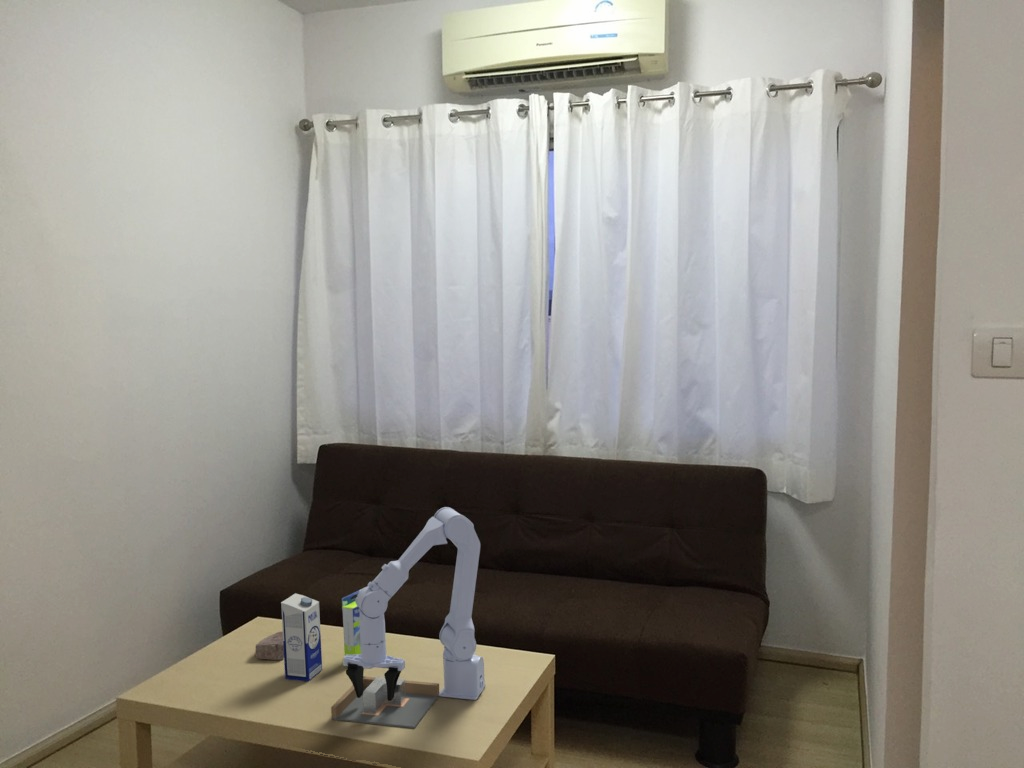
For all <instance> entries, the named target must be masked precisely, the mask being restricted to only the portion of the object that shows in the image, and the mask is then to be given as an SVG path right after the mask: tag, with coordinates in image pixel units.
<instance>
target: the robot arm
mask: <svg viewBox="0 0 1024 768" xmlns="http://www.w3.org/2000/svg"><path fill="white" fill-rule="evenodd" d="M447 539H449V540H450V541H451V542H452V543H453V545H454V546H455V547H456V549H457V551H456V552H457V553H456V554H457V555H456V561H455V569H454V577H453V584H452V592H451V598H450V599H451V600H450V605H449V606H450V607H449V613H448V614H447V615H446V616H445V618H444V623H443V625H442V627H441V629H440V631H439V634H438V635H439V636H438V637H439V641H440V643H441V645H443V646H444V647H443V648H444V649H443V653H442V661H443V663H442V664H443V666H442V667H443V687H442V688H441V690H439V696H438V697H443V698H454V699H463V700H473V701H475V700H477V699H478V698H479V696H480V695H481V693H482V692H483V690H484V689H485V687H486V682H485V662H484V661H485V660H484V658H483V657H482V656H480V655H476V654H475V653H476V649H477V641H476V638H475V625H474V623H473V622H474V621H473V619H472V615H473V606H474V600H475V591H476V586H477V585H476V583H477V578H478V577H477V575H478V569H479V560H480V554H481V541H480V539H479V537H478V534H477V533H476V530H475V526H474V523H473V522H472V521H471V520H470V519H469V518H467V517H466V516H465V515H463V514H461V513H459V512H458V511H456V510H455V509H454V508H452V507H449V506H444V507H441V508H440V509H437V511H436V512H435V513H434V515H433V516H431V517H430V518H429V519H428V520H427V521H426V524H425V526H424V527H423V529H422V530H421V531H420V532H419V534H418V535H417V536H416V537H415V539H413V541H412V542H411V543H410V545H409V546H408V547H407V549H406V550H405V551H404V552H403V553H402V555H401V556H400V557H399V558H398V560H391V561H389V562H388V563H387V564H386V563H384V564H383V565H382V566H381V569H382V570H381V571H380V572H379V573H378V575H377V576H376V577H375V578H374V579H373V580H372V581H369V582H368V583H367V586H365V587H366V588H365V587H363V588H361V589H359V590H360V592H359V593H358V594H357V595H356V597H357V599H355V601H356V604H357V606H358V607H359V608H360V609H361V610H359V612H360V622H359V624H360V645H361V654H357V655H346V656H345V655H344V657H342V661H343V663H342V664H343V667H347V668H346V669H345V674H346V676H348V677H347V678H349V680H350V682H351V684H352V685H353V686H354V689H355V692H356V695H357V698H360V697H361V696H362V695H363V691H364V685H363V676H364V670H371V669H372V668H373V669H374V668H380V669H388V670H387V671H386V672H385V673H383V674H384V675H383V677H385V680H386V685H387V699H388V701H391V700H392V699H393V698H394V693H395V688H396V684H397V681H398V679H400V675H401V673H402V672H403V671H404V669H405V668H406V660H405V658H404V659H403V658H398V657H395V656H391V655H388V654H387V640H386V621H385V620H386V619H385V612H386V611H387V608H388V602H389V601H390V600H391V599H392V597H394V596H395V594H396V593H397V592H398V591H399V589H401V587H402V586H403V585H404V584H405V583H406V582H407V581H408V580H409V575H410V574H409V571H410V570H411V568H413V566H415V565H416V564H417V563H418V561H419V560H420V559H422V557H423V556H425V554H426V553H427V552H428V551H429V550H430V549H431V548H432V547H433V546H440V545H447V544H448V541H447Z"/></svg>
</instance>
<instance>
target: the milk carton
mask: <svg viewBox="0 0 1024 768" xmlns="http://www.w3.org/2000/svg"><path fill="white" fill-rule="evenodd" d="M280 604H281V607H280V608H281V624H282V632H283V646H284V659H283V663H284V679H286V680H294V681H303V682H310V681H312V679H313V678H314V677H316V676H317V675H318V674H319V673H320V672H322V671H323V659H322V658H323V655H322V654H323V653H322V639H321V637H322V635H321V620H320V618H321V617H320V601H318V600H316V599H313V598H310V597H308V596H306V595H303V594H299V593H296V592H295V593H294V594H292V595H290V596H289V597H288V598H286V599H284V600H282V601H281V602H280ZM321 670H322V671H321Z"/></svg>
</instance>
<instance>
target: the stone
mask: <svg viewBox="0 0 1024 768" xmlns="http://www.w3.org/2000/svg"><path fill="white" fill-rule="evenodd" d="M255 658H256V659H257V660H272V661H278V660H279V661H283V660H284V646H283V631H278V632H275V633H272V634H270V635H268V636H267V637H265V638H263V639H261V640H259V642H257V644H255Z"/></svg>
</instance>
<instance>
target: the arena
mask: <svg viewBox="0 0 1024 768" xmlns="http://www.w3.org/2000/svg"><path fill="white" fill-rule="evenodd" d="M376 678H377V677H376V676H375V677H374V676H373V677H372V676H364V675H363V685H364V690H365V689H366V688H367V687H368V686H369V685H370V684H371V683H372V682H373V681H374V680H375V679H376ZM405 687H406V700H405V702H404V703H403V704H402V705H401V706H399V705H389V704H385V705H384V706H383V707H382V708H381V709H380V710H379V712H378V713H377V714H367V713H364V704H363V695H362V696H361V697H360V698H357V695H356V692H355V689H354V686H353V684H352V685H351V687H350V688H348V689H347V690H346V691H345V693H344V694H342V696H340V698H338V699H337V700H336V701H335V703H334V704H332V705H331V706H330V712H331V720H335V721H340V722H341V721H342V722H343V721H344V722H352V723H361V724H371V725H379V726H389V727H396V728H397V727H398V728H407V729H413V730H414V729H416V728H417V726H418V725H419V723H420V722H421V721H422V719H423V718H424V717H425V715H426V714H427V712H428V711H429V710H430V709H431V707H432V706H433V705H434V703H435V702H436V701H437V699H439V698H438V697H440V696H439V693H440V682H439V683H438V682H428V681H418V680H417V681H415V680H408V679H407V680H406V679H405Z"/></svg>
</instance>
